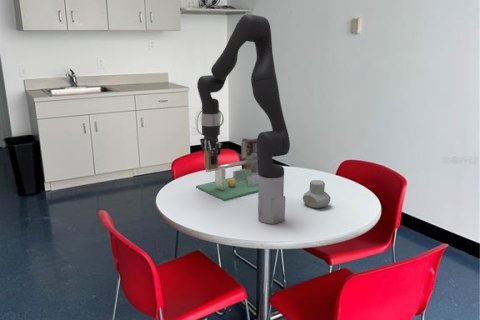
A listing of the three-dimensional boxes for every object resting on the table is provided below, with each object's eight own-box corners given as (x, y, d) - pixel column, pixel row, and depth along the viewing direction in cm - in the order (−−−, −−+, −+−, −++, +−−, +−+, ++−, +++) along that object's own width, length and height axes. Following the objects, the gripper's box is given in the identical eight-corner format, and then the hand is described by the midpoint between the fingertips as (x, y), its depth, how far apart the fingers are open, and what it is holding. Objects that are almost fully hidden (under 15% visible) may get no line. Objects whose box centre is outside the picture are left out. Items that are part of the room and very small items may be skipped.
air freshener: (299, 204, 174) (300, 180, 172) (312, 199, 179) (313, 176, 177) (320, 211, 166) (321, 187, 163) (333, 207, 171) (334, 183, 169)
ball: (237, 186, 193) (237, 178, 191) (230, 188, 190) (230, 179, 189) (232, 184, 196) (232, 176, 195) (225, 186, 193) (225, 177, 192)
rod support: (263, 183, 200) (263, 155, 197) (259, 184, 199) (260, 156, 195) (254, 180, 205) (254, 152, 202) (250, 181, 204) (251, 153, 200)
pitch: (267, 189, 192) (267, 187, 192) (224, 201, 178) (224, 198, 177) (237, 178, 209) (237, 176, 208) (196, 187, 194) (196, 185, 194)
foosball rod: (264, 179, 201) (265, 141, 197) (210, 193, 183) (209, 151, 178) (257, 177, 205) (258, 139, 200) (203, 190, 187) (203, 149, 182)
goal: (259, 184, 196) (259, 174, 194) (248, 187, 192) (248, 176, 190) (243, 178, 204) (243, 168, 203) (233, 181, 200) (233, 171, 199)
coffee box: (259, 168, 225) (260, 138, 221) (259, 171, 219) (259, 141, 215) (242, 168, 226) (242, 138, 222) (241, 171, 220) (241, 140, 215)
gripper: (228, 125, 176) (228, 165, 180) (208, 120, 186) (209, 159, 191) (213, 127, 171) (213, 168, 176) (194, 122, 182) (195, 161, 186)
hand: (211, 163), depth 183 cm, fingers closed on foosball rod, 3 cm apart
